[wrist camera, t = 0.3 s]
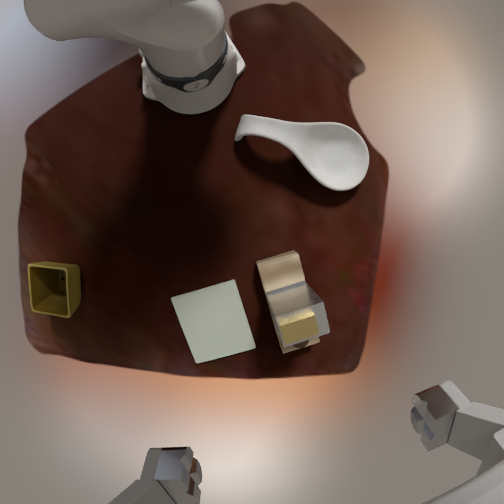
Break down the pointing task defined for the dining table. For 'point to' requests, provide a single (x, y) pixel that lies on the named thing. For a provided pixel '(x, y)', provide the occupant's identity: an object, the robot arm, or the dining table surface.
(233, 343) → the mat
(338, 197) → the dining table surface
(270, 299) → the grey tall block
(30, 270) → the flower pot
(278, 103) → the dining table surface
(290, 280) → the block plane
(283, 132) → the spoon rest
